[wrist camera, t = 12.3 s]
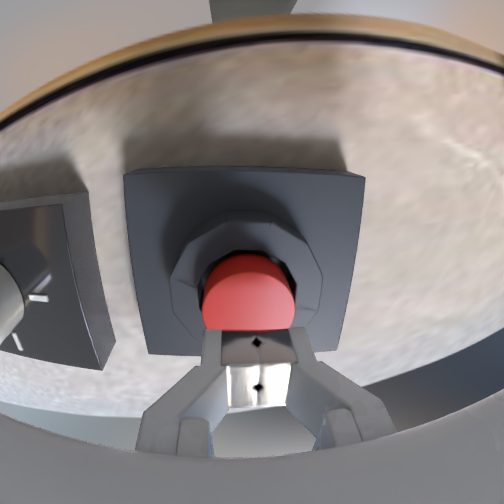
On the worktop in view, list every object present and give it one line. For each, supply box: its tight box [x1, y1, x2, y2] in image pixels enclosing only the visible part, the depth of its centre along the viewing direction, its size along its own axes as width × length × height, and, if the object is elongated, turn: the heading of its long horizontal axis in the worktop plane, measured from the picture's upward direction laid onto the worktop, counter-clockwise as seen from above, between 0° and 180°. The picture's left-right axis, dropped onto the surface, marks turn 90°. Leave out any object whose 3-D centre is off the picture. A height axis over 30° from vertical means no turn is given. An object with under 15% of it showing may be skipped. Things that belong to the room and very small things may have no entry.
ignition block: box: [123, 166, 365, 356], centre depth 14 cm, size 10×11×4 cm
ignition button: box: [202, 254, 295, 330], centre depth 12 cm, size 4×4×2 cm
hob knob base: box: [0, 192, 116, 371], centre depth 14 cm, size 10×13×3 cm
